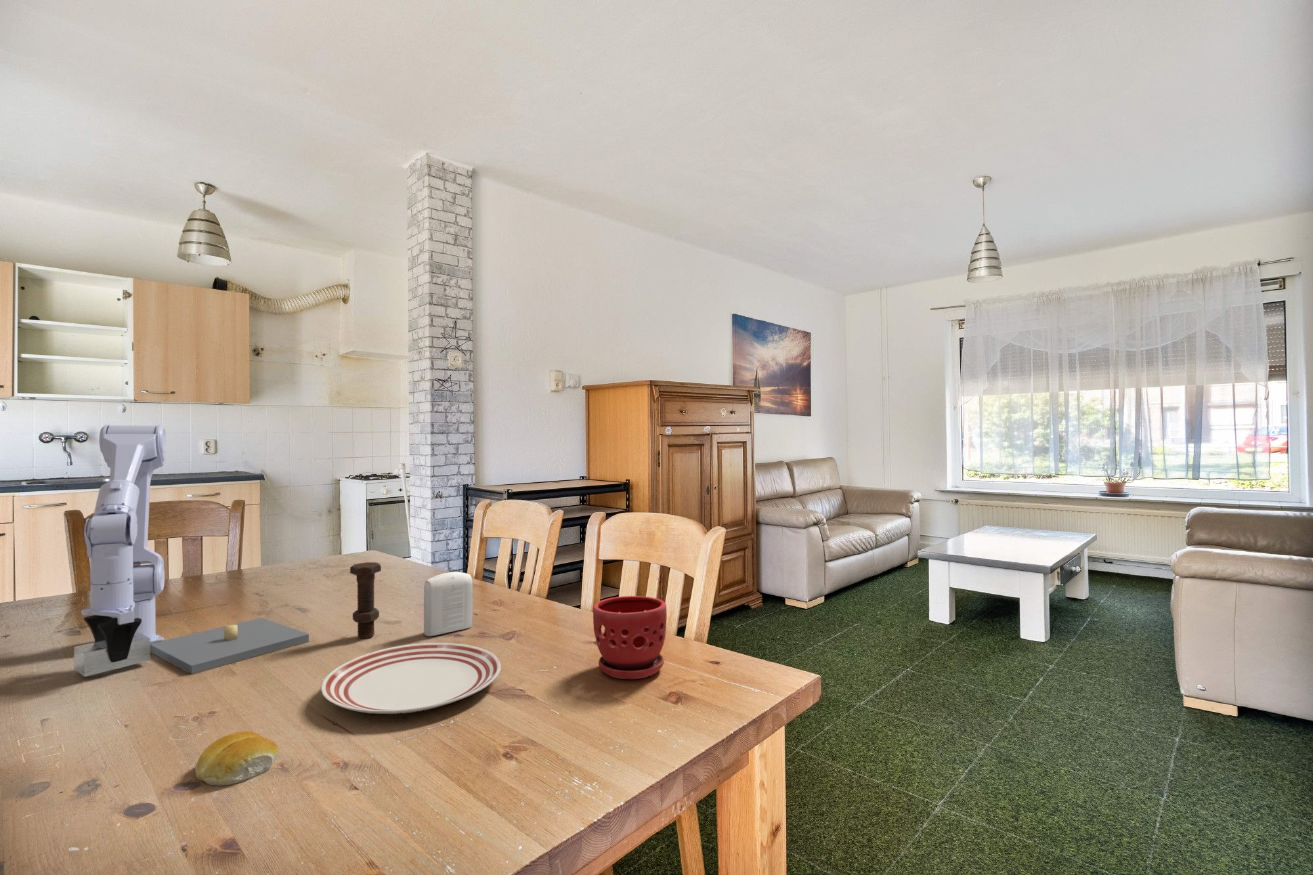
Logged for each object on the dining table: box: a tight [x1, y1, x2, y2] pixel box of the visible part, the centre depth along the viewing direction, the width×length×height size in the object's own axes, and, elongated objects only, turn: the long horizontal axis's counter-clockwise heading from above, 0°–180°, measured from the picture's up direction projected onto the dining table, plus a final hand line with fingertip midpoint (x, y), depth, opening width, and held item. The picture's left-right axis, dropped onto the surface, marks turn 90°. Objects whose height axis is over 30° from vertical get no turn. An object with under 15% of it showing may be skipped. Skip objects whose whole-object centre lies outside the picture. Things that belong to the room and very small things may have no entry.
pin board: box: [150, 617, 310, 675], centre depth 121 cm, size 20×20×4 cm
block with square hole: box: [73, 633, 151, 678], centre depth 109 cm, size 6×9×4 cm, turn 147°
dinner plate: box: [320, 642, 502, 715], centre depth 101 cm, size 28×27×3 cm
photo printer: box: [423, 571, 474, 637], centre depth 130 cm, size 10×4×12 cm, turn 134°
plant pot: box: [592, 595, 668, 680], centre depth 109 cm, size 13×13×12 cm
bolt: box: [349, 561, 382, 639], centre depth 126 cm, size 6×5×15 cm
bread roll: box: [194, 730, 279, 787], centre depth 77 cm, size 8×9×4 cm
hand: (112, 656), depth 109 cm, fingers closed on block with square hole, 6 cm apart
